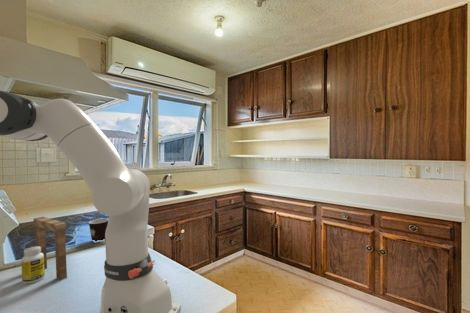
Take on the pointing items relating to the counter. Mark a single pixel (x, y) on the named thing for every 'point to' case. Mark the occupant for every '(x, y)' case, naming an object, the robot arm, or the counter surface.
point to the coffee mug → (98, 229)
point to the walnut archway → (60, 243)
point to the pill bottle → (32, 265)
